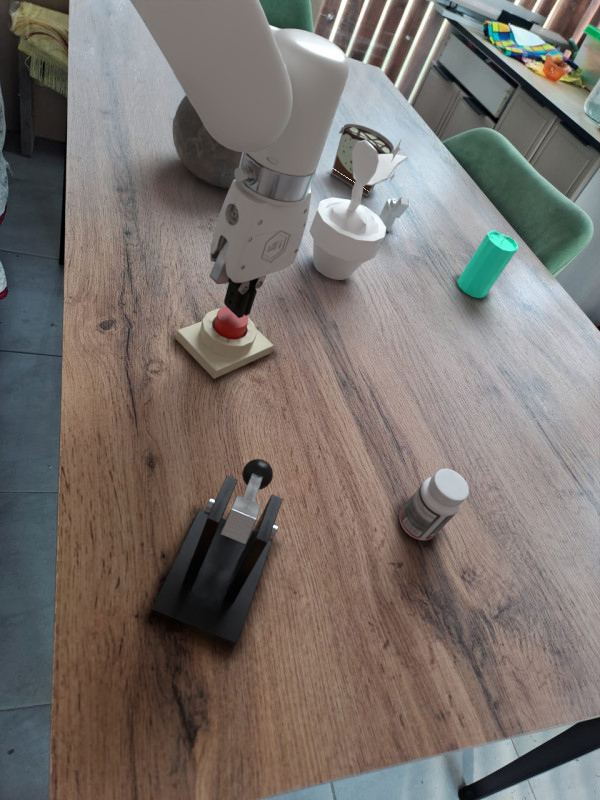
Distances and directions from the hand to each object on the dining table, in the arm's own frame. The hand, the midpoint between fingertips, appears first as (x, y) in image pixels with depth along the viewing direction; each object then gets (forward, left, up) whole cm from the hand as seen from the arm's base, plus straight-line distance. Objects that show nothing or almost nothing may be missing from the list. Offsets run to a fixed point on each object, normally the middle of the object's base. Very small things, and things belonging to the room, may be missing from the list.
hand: (236, 309), depth 71 cm
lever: (+22, -18, +1) cm, 29 cm away
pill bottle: (+33, +2, -7) cm, 34 cm away
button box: (0, 0, -6) cm, 6 cm away
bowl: (-35, +27, -7) cm, 45 cm away
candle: (+9, +53, -7) cm, 54 cm away
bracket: (+24, -21, -6) cm, 33 cm away
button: (0, 0, -3) cm, 3 cm away
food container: (-26, +58, -7) cm, 64 cm away
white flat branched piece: (-11, +50, -7) cm, 51 cm away
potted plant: (-6, +29, -7) cm, 30 cm away
